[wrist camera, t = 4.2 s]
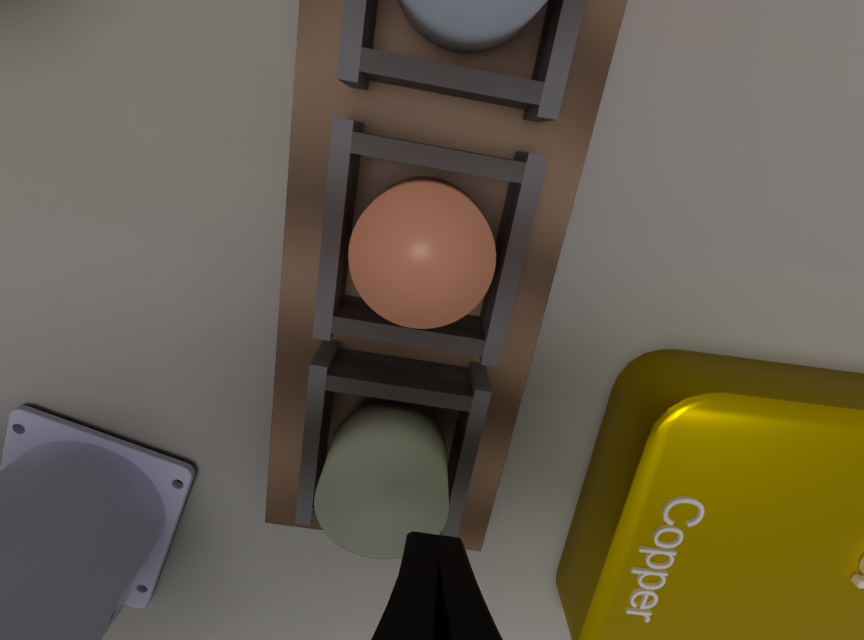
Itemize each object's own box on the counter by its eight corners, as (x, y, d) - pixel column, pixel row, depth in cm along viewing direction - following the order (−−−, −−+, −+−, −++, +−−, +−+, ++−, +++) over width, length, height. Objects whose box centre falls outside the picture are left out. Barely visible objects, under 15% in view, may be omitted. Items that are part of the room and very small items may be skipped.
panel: (478, 531, 24) (489, 622, 19) (273, 503, 23) (235, 591, 19) (670, -209, 14) (779, -368, 10) (330, -288, 14) (280, -496, 9)
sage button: (435, 505, 20) (436, 566, 17) (326, 490, 19) (308, 550, 17) (455, 411, 18) (460, 461, 15) (337, 393, 18) (320, 441, 15)
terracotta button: (472, 307, 18) (479, 338, 15) (355, 289, 18) (340, 316, 15) (497, 188, 17) (510, 198, 14) (370, 165, 17) (357, 171, 14)
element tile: (622, 338, 21) (674, 393, 16) (951, 381, 22) (1087, 445, 17) (545, 596, 26) (569, 691, 22) (813, 623, 27) (890, 721, 22)
